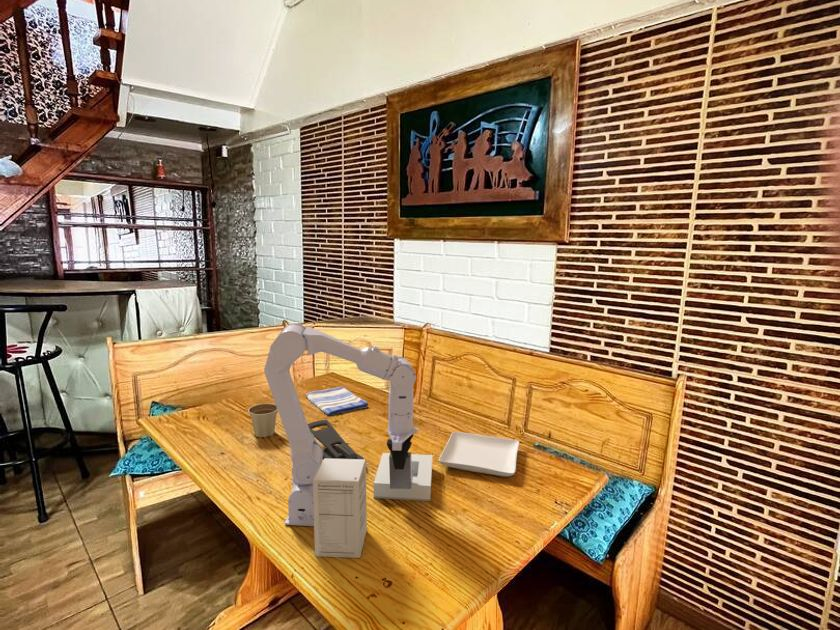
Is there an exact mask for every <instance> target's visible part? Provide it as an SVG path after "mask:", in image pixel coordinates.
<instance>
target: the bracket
mask: <svg viewBox="0 0 840 630" xmlns="http://www.w3.org/2000/svg"><path fill="white" fill-rule="evenodd" d="M389 453H390V455H389V471H390V489H411V486H412V480H413V470H412V459H411V454H412V452H411V451H410V452H409V451H408V452H407V456H406V461H405V466H404V469H403V470H402V469H395V468H394V464H393V459H392V455H391V452H390V451H389Z"/></svg>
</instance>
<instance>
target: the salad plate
mask: <svg viewBox="0 0 840 630" xmlns="http://www.w3.org/2000/svg"><path fill="white" fill-rule="evenodd" d="M519 447H520V441H519V440H516V439H509V438H503V437H498V436H497V437H496V436H491V435H483V434H476V433H469V432H462V431H453V432H451V434H450V436H449V438H448V441H447V443H446V444H445V446H444V448H443V450H442V452H441V454H440V455H439V457H438V462H439V463H440V464H441V465H443V466H445V467H448V468H451V469H452V468H453V469H457V470H462V471H468V472H473V473H480V474H486V475H494V476H497V477H498V476H499V477H511V476H513V475H515V473H516V471H517V457H518V453H519V452H518V451H519Z"/></svg>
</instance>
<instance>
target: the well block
mask: <svg viewBox="0 0 840 630" xmlns="http://www.w3.org/2000/svg"><path fill="white" fill-rule="evenodd" d="M389 455H390V452H382V454H381V457H380V461H379V464H378V466H377V467H378V468H377V471H376V473H375V478H374V481H373V499H387V500H401V501H402V500H405V501H407V500H408V501H420V502H421V501H422V502H423V501H424V502H425V501H426V502H431V497H432V495H431V493H432V476H433V454H417V453H416V454H415V453H414V454H413V453H411V459H412V470H413V480H412V486H411V489H390V471H389Z"/></svg>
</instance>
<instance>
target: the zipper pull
mask: <svg viewBox="0 0 840 630" xmlns="http://www.w3.org/2000/svg"><path fill="white" fill-rule="evenodd" d="M307 424H308V427H309V430H310V432H311V433H312V434H313V435H314V437H315V440H316V441H317V442H318V443H320V444H321V445H323V446H324V447H325V448H324V449H323V458H322V461H323V460H324V458H326V459H364V457H363V456H361V455H360V454H358V453H357V452H355V451H354V449H352V447H351V446H350V445H349V444H348V443H347V442H345V440H344V439H343V438H342V437H341V435H340V434H339V433H338V431H336V429H335V428H334V427H333V425H332V423H330V422H329V420H328V419H321V420H316V421H312V422H309V423H307ZM319 427H325V428H322V429H317V430H313V429H315V428H319Z"/></svg>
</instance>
